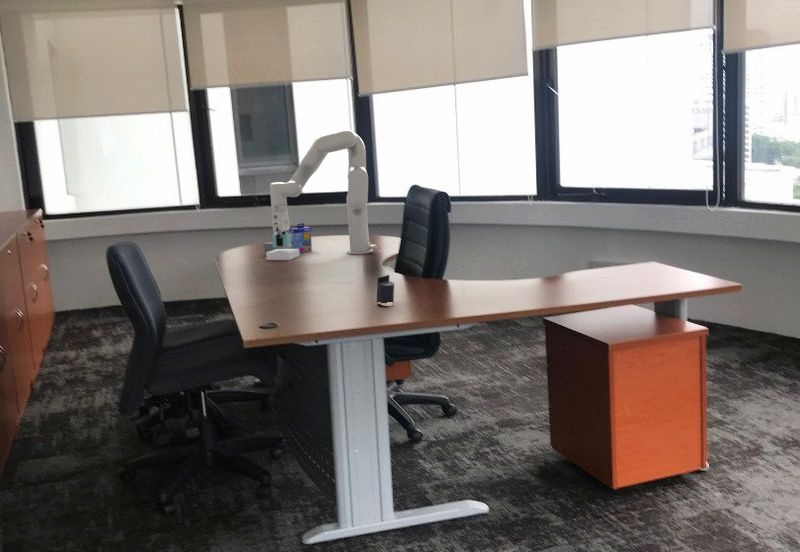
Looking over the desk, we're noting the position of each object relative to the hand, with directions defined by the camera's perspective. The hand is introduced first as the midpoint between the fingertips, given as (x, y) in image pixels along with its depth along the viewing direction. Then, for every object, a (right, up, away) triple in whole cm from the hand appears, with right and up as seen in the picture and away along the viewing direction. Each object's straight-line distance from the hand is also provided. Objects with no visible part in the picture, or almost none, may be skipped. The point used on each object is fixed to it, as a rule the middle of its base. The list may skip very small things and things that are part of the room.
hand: (282, 244), depth 443 cm
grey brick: (-6, -4, +14) cm, 16 cm away
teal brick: (0, -1, 0) cm, 1 cm away
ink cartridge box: (+7, -3, +19) cm, 20 cm away
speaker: (+53, -26, -118) cm, 132 cm away
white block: (0, -6, +1) cm, 6 cm away
